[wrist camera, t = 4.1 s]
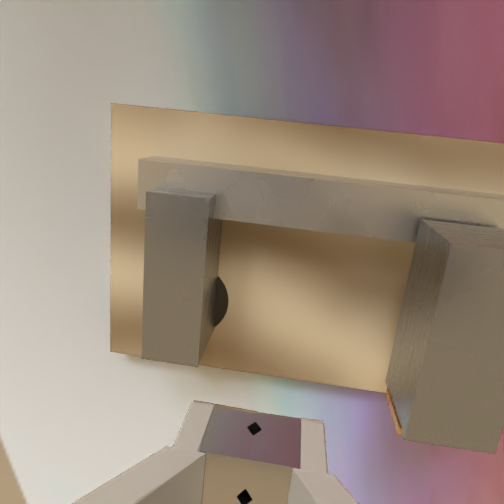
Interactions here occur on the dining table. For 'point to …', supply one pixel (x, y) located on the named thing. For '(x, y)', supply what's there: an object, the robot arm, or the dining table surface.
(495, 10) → the dining table surface
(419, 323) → the block
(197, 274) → the trammel bar
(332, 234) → the hole board
